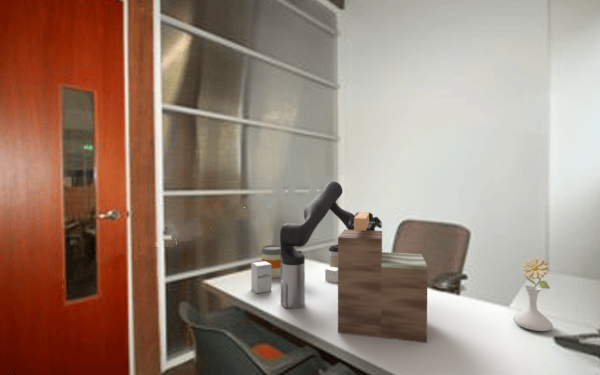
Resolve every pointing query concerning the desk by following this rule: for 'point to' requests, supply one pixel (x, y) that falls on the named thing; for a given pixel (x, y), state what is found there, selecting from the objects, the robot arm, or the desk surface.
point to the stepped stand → (380, 289)
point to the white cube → (331, 274)
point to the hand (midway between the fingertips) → (363, 214)
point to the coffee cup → (333, 256)
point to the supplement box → (261, 277)
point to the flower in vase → (534, 297)
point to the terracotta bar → (361, 221)
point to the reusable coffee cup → (272, 258)
